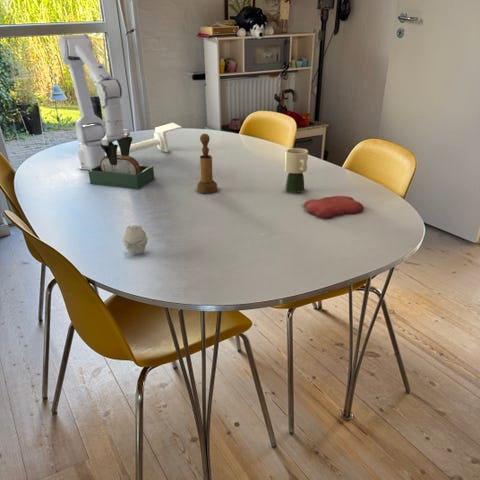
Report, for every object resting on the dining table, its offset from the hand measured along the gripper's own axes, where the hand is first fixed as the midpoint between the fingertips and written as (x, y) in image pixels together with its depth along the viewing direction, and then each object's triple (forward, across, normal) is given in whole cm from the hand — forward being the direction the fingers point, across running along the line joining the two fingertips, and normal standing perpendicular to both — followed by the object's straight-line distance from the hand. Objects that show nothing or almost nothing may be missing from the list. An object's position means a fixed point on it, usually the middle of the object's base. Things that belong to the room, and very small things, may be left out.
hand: (119, 161), depth 167 cm
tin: (+6, 0, 0) cm, 6 cm away
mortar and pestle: (+7, 0, -33) cm, 33 cm away
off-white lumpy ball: (+7, -50, -35) cm, 61 cm away
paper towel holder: (+7, +36, +11) cm, 38 cm away
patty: (+7, -4, -76) cm, 76 cm away
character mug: (+7, +8, -61) cm, 61 cm away
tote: (+7, 0, 0) cm, 7 cm away
